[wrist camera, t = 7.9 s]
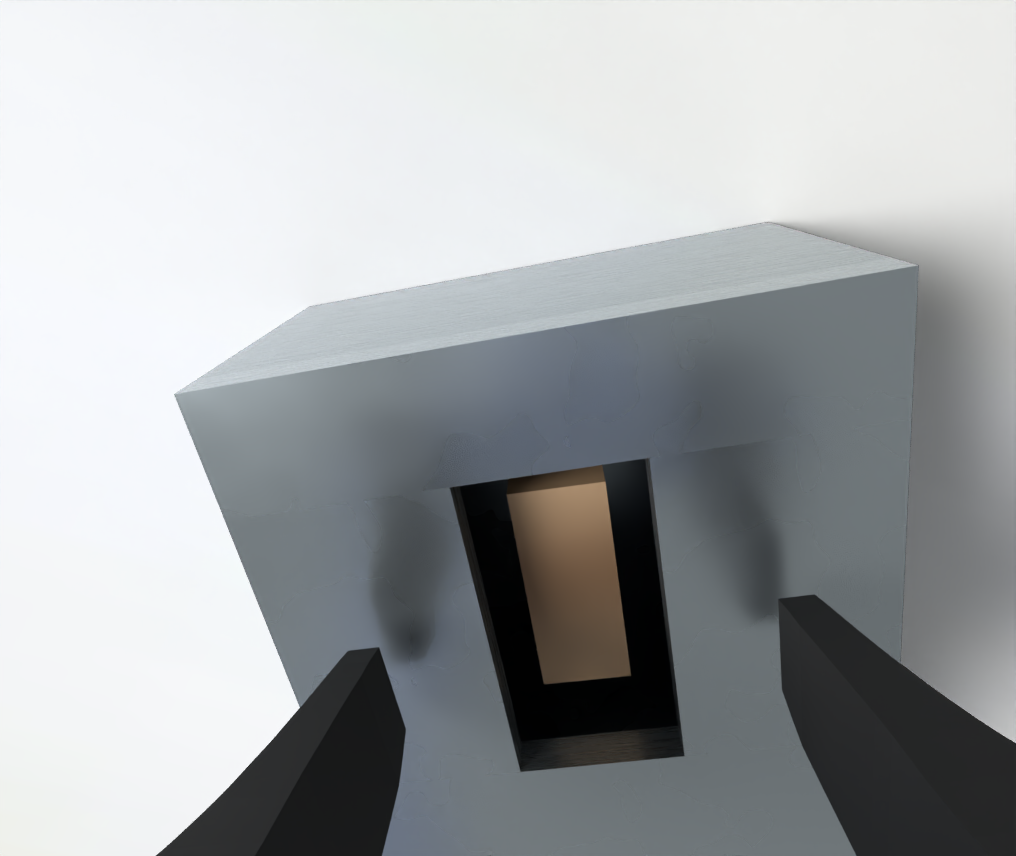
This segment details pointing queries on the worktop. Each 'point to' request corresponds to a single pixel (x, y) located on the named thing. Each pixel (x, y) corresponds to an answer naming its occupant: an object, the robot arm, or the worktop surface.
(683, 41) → the worktop surface
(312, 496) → the cash box
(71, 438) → the worktop surface
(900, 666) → the robot arm
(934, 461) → the worktop surface
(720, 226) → the worktop surface
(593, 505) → the tan rectangular slab
